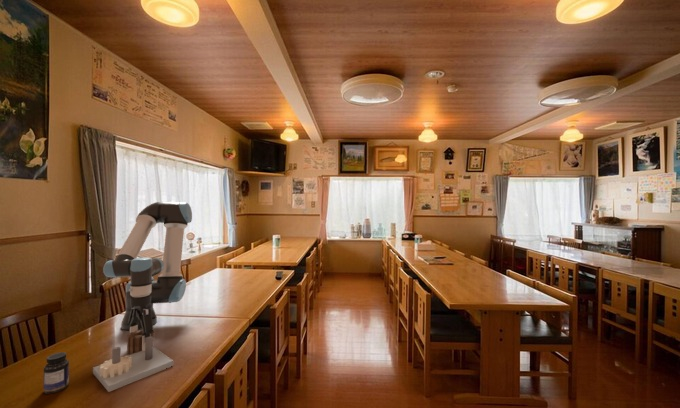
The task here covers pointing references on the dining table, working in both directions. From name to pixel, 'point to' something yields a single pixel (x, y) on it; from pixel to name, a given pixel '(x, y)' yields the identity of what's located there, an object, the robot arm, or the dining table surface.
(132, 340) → the walnut gear
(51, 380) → the pill bottle
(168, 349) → the dining table surface
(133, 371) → the gear board
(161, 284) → the robot arm
